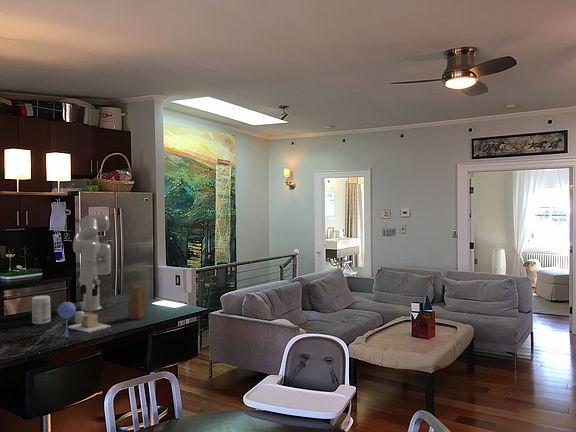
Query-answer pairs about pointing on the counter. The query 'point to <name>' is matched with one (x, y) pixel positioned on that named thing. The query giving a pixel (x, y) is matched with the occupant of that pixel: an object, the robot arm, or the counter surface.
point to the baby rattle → (66, 312)
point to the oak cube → (89, 320)
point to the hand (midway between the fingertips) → (89, 294)
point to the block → (137, 302)
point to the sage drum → (78, 316)
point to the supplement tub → (41, 309)
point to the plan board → (90, 329)
